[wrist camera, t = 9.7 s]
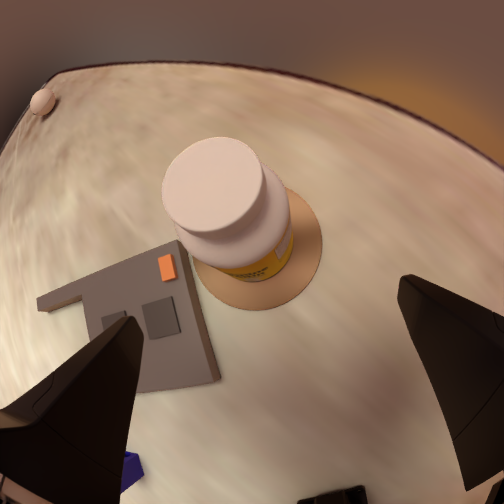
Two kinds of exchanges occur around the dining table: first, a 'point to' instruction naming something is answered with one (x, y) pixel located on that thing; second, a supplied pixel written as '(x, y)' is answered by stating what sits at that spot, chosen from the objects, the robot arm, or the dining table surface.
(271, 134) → the dining table surface
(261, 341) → the dining table surface
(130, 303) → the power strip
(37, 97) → the plastic egg
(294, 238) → the cork coaster
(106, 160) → the dining table surface
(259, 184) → the pill bottle
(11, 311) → the dining table surface
